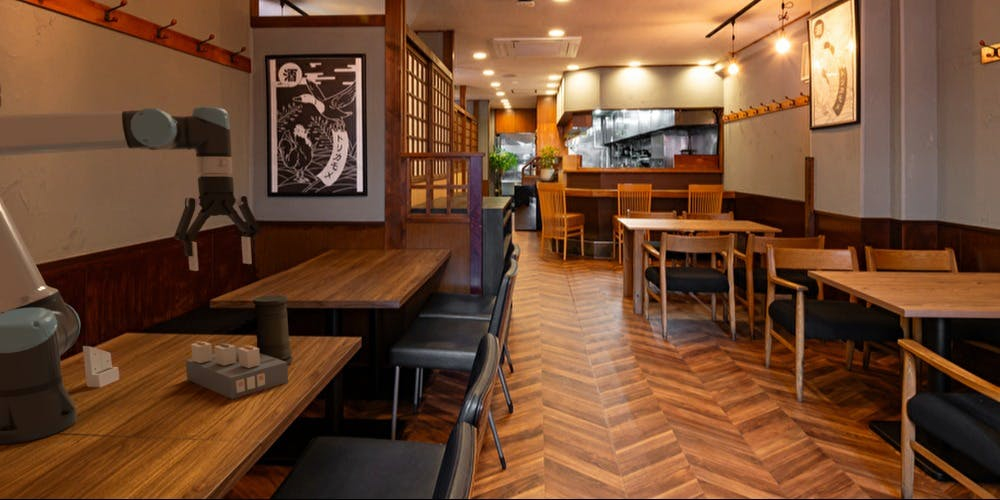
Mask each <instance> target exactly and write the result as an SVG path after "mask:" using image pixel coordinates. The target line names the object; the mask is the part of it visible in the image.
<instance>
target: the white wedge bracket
mask: <svg viewBox="0 0 1000 500" xmlns="http://www.w3.org/2000/svg"><path fill="white" fill-rule="evenodd" d="M82 351H83V360H84V370H85V381H86V382H85V383H86V387H87V386H88V388H89V387H90V388H103V387H105V386H107V385H109V384H112V383H114V382H116V381H119V380H120V371H119V367H118V366H113V365H112V364H113V363H112V355H111V352H109V351H105V350H103V349H100V348H95V347H93V346H89V345H82Z"/></svg>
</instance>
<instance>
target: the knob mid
mask: <svg viewBox="0 0 1000 500" xmlns="http://www.w3.org/2000/svg"><path fill="white" fill-rule="evenodd" d="M235 348H236V346H235V345H233V344H229V343H224V342H221V343H219V345H215V346H214V353H215V361H216V363H218V364H221V365H228V364H232V363H236V354H235Z"/></svg>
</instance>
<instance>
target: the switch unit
mask: <svg viewBox="0 0 1000 500" xmlns="http://www.w3.org/2000/svg"><path fill="white" fill-rule="evenodd" d="M238 348H242V346H238V347H235V354H236V363H232V364H228V365H221V364H218V363H216V361H215V352H212V359H213V360H211V361H207V362H203V363H198V362H196V361H193V360H192V358H188V359H185V366H186V367H185V368H186V379H187V380H188V381H189V382H192V383H193V384H194V383H195V384H196V385H199V386H201V387H203V388H205V389H207V390H210V391H212V392H214V393H217V394H220V395H221V396H223V397H226V398H228V399H230V398H231V400H235V399H238V398H237V397H239V398H241V396H242V397H244V396H243V395H245V396H247V395H246V394H248V395H250V394H249V393H251V394H254V393H253V392H255V393H257V392H256V391H258V392H261V391H264V390H268V389H271V388H273V386H274V387H278V386H280V384H281V385H284V384H287V383H289V373H288V365H287V362H285V361H282V360H279V359H276V358H273V357H270V356H267V355H264V354H261V353H259V354H260V365H258V366H254V367H250V368H247V367H244V366H241V365H239V352H238ZM270 387H271V388H270ZM267 388H268V389H267ZM263 389H264V390H263ZM260 390H261V391H260ZM234 398H235V399H234Z"/></svg>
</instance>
